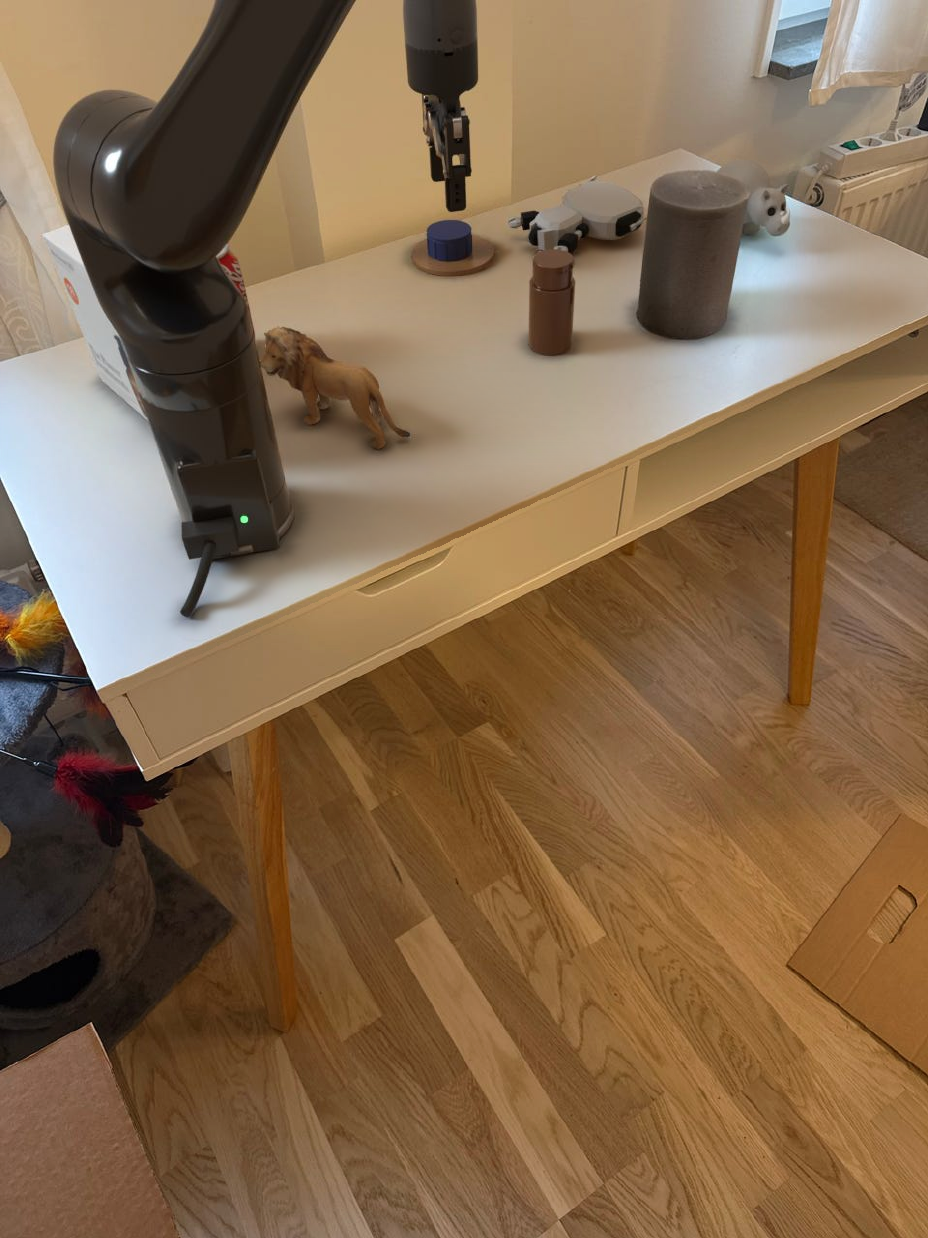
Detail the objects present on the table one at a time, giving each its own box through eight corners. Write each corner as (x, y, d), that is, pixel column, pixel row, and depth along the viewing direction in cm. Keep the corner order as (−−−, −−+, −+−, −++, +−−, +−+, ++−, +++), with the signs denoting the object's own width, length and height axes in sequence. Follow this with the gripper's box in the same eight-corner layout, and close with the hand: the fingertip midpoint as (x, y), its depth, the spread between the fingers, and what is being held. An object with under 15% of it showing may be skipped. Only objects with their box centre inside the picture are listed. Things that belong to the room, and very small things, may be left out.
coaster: (502, 269, 110) (502, 264, 110) (420, 280, 109) (419, 276, 109) (483, 233, 117) (483, 228, 116) (405, 243, 116) (404, 238, 115)
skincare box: (95, 383, 96) (39, 231, 85) (142, 363, 99) (94, 213, 87) (200, 474, 85) (151, 314, 74) (250, 449, 88) (211, 290, 76)
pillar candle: (631, 335, 99) (646, 192, 88) (641, 291, 106) (656, 152, 95) (724, 344, 97) (751, 198, 86) (729, 298, 104) (755, 157, 93)
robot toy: (560, 281, 109) (660, 238, 114) (559, 244, 106) (662, 201, 110) (502, 242, 117) (598, 203, 121) (500, 207, 113) (599, 168, 117)
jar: (577, 351, 97) (583, 264, 90) (535, 358, 97) (538, 272, 90) (563, 329, 100) (567, 244, 94) (522, 336, 100) (523, 251, 93)
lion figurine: (264, 422, 90) (244, 339, 84) (292, 393, 94) (276, 311, 87) (399, 456, 86) (390, 371, 79) (423, 424, 89) (417, 340, 83)
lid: (461, 264, 110) (460, 242, 108) (420, 257, 112) (419, 235, 110) (478, 245, 113) (478, 223, 111) (439, 238, 115) (438, 216, 113)
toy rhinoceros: (755, 267, 108) (770, 192, 102) (689, 228, 116) (699, 157, 109) (801, 251, 111) (819, 177, 104) (734, 214, 118) (747, 143, 112)
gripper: (393, 19, 100) (405, 174, 112) (418, 59, 91) (428, 225, 102) (461, 12, 101) (466, 167, 113) (493, 51, 92) (494, 216, 103)
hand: (448, 194), depth 108 cm, fingers open, 8 cm apart
